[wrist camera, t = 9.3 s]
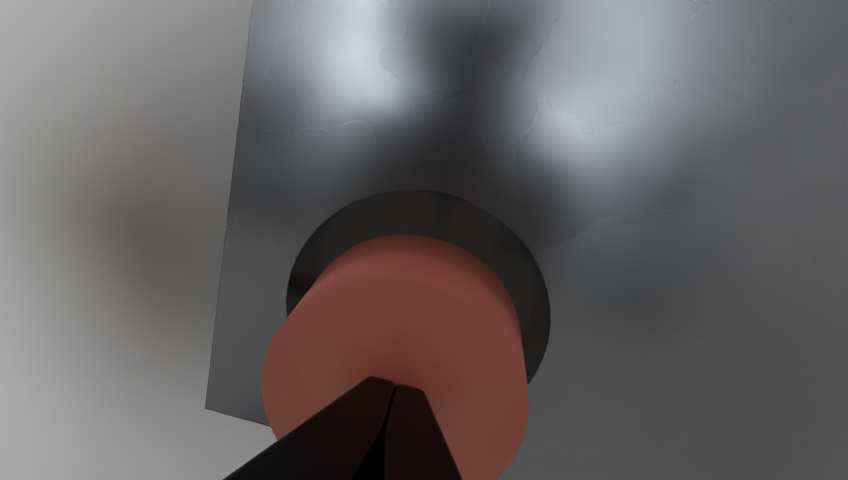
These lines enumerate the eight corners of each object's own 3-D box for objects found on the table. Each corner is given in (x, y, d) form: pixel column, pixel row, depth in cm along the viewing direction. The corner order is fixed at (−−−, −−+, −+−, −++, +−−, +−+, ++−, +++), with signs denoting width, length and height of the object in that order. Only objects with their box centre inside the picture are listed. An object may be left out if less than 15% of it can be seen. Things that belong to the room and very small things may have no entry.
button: (486, 452, 10) (486, 538, 9) (289, 398, 11) (246, 472, 9) (550, 268, 9) (566, 323, 7) (323, 208, 9) (281, 247, 7)
